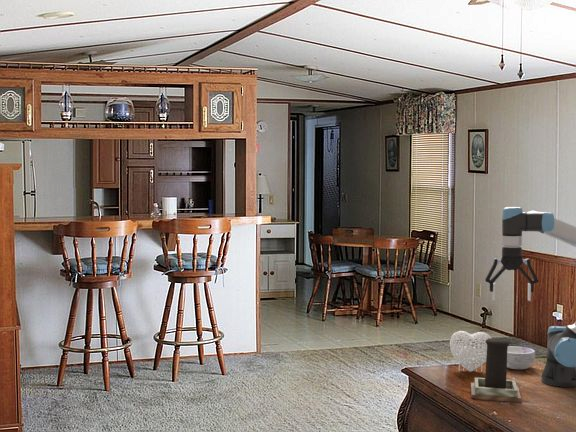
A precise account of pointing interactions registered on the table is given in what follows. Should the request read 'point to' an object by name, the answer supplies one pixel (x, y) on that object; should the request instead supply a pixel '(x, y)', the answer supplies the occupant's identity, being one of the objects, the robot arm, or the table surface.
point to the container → (496, 363)
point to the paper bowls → (520, 357)
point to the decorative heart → (469, 349)
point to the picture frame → (495, 391)
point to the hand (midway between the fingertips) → (511, 300)
